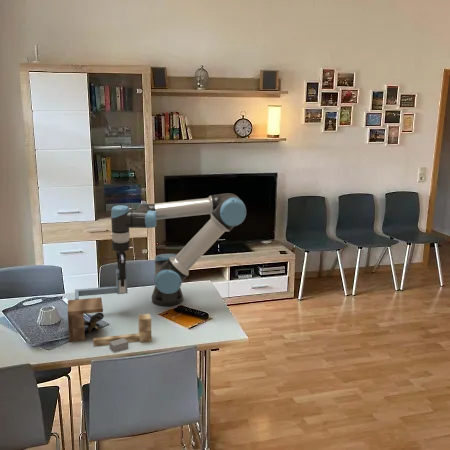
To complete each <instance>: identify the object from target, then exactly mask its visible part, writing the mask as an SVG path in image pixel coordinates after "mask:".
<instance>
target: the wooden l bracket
mask: <svg viewBox="0 0 450 450" xmlns="http://www.w3.org/2000/svg"><path fill="white" fill-rule="evenodd" d="M103 307H104V306H103V301H102V297H101V296H100V297H92V298H91V297H89V298H79V299H77V300H75V299H67V320H68V322H67V323H68V324H67V325H68V336H69V337H68V339H69V343H73V342H74V343H75V342H82V341H86V336H85V335H86V334H85V333H86V332H85V326H84V321H85V315H86V314H87V315H88V314H96V313H103V312H104V308H103Z"/></svg>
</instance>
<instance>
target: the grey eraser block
mask: <svg viewBox="0 0 450 450" xmlns="http://www.w3.org/2000/svg"><path fill="white" fill-rule="evenodd" d="M109 343H110V345H109V349H110V350H111V351H112V352H113V353H118V352H120V351H123V350H128V349H129V342H128V341H127V340H125V339H124V338H121V339H118V340H114V341H111V342H109Z"/></svg>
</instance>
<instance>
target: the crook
mask: <svg viewBox="0 0 450 450" xmlns="http://www.w3.org/2000/svg"><path fill="white" fill-rule="evenodd" d="M125 270H126V279H125V284H126V293H119V280H118V278H119V269H118V268H117V269H115V280H116V281H115V283H116V284H115V285H116V286H104V287H102V286H101V287H89V288H77V289H74V300H77V299H80V297H85V296H86V297H87V296H97V295H100V296H101V295H110V294H117V295H125V294H128V292H129V291H128V271H127V269H126V268H125Z"/></svg>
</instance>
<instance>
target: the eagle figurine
mask: <svg viewBox="0 0 450 450" xmlns="http://www.w3.org/2000/svg"><path fill="white" fill-rule="evenodd" d="M104 317H105V314H104V313H103V312H99V313H94V314H93V315H92V316H90V319H89V321H88V320H84V327H85V326H87V327H85V329H86V330H89V331H88V332H87V333H90V332H91V331H92V329H93V327H94V329H96V330H99V327H98V323H97V322H100V321H101V320H103V319H104Z"/></svg>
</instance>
